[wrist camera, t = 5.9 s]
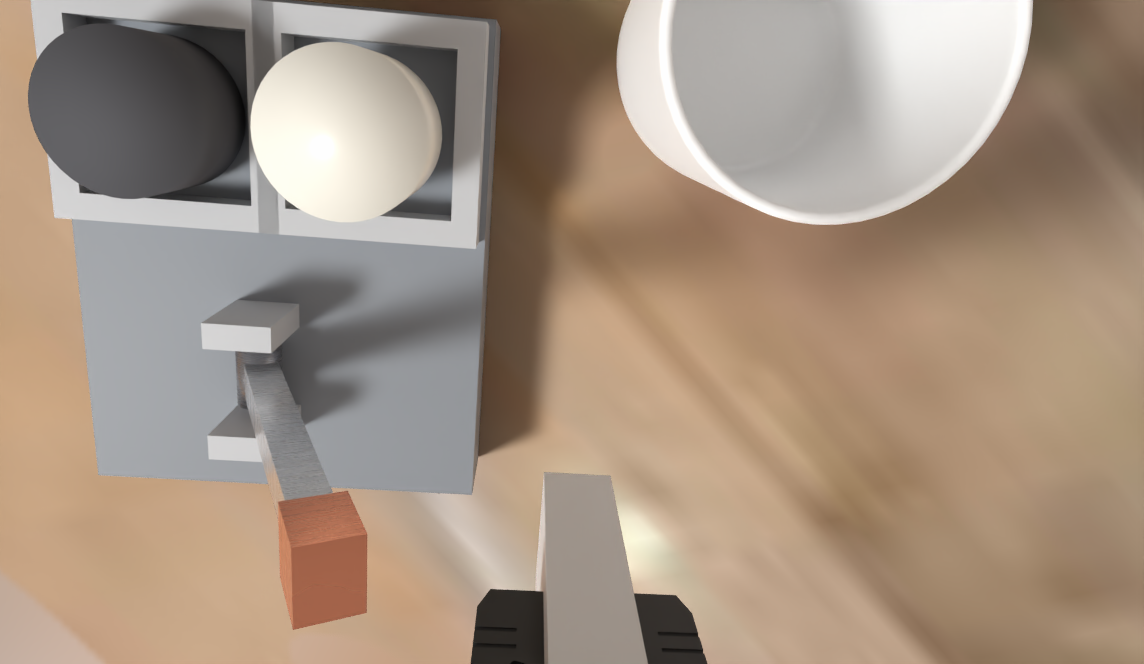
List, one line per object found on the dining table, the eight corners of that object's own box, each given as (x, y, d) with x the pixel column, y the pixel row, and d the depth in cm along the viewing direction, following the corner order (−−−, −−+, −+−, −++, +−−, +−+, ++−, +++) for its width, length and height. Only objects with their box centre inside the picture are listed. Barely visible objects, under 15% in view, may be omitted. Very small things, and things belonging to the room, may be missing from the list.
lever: (232, 342, 25) (290, 545, 14) (279, 339, 25) (366, 531, 15) (235, 396, 25) (292, 632, 15) (280, 392, 26) (366, 614, 15)
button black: (86, 27, 22) (18, 15, 19) (242, 41, 22) (198, 32, 19) (100, 181, 23) (38, 192, 20) (248, 193, 23) (207, 205, 20)
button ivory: (286, 43, 21) (246, 33, 18) (444, 57, 21) (430, 50, 19) (289, 201, 22) (253, 215, 19) (439, 212, 23) (425, 228, 20)
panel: (103, -8, 25) (-22, -41, 19) (500, 29, 26) (491, 8, 20) (141, 438, 29) (49, 516, 24) (478, 457, 30) (464, 537, 25)
